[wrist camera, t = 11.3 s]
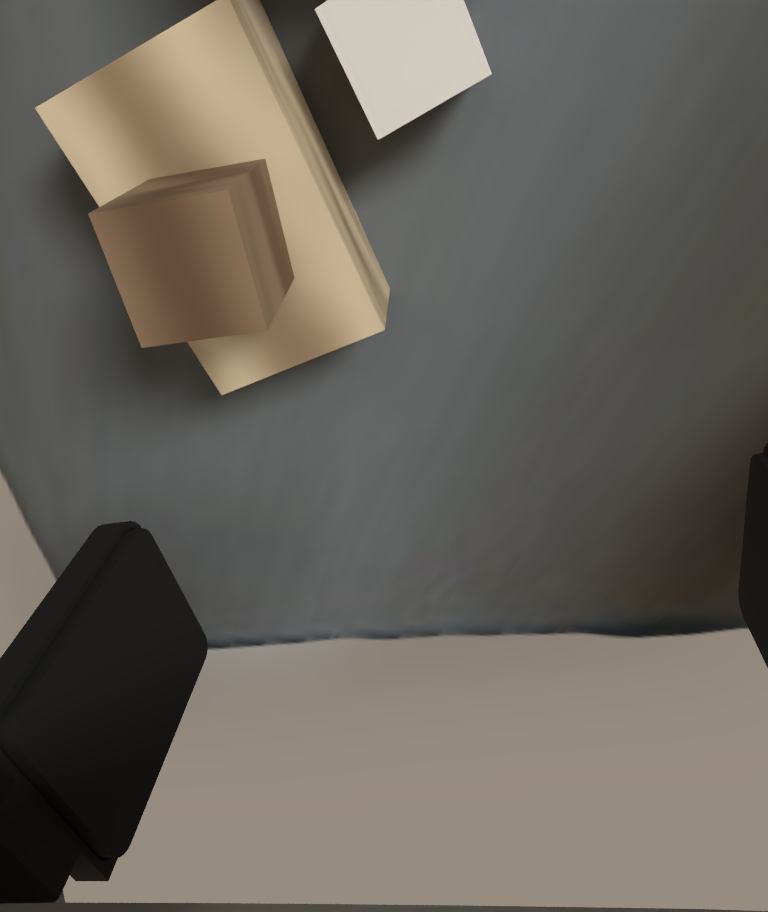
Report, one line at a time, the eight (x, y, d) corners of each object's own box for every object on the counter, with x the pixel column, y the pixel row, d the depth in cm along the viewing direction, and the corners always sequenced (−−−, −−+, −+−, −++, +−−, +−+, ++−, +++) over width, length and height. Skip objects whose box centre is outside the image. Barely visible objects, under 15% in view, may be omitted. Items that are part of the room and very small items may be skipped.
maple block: (261, -1, 28) (226, -6, 23) (390, 286, 35) (384, 330, 30) (97, 94, 31) (34, 108, 26) (248, 346, 38) (221, 395, 33)
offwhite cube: (434, -58, 27) (436, -73, 23) (482, 67, 29) (491, 73, 25) (330, 11, 28) (314, 8, 24) (384, 124, 31) (377, 140, 26)
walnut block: (265, 158, 26) (228, 189, 21) (294, 278, 29) (267, 330, 24) (150, 178, 27) (88, 213, 22) (189, 293, 30) (141, 347, 25)
